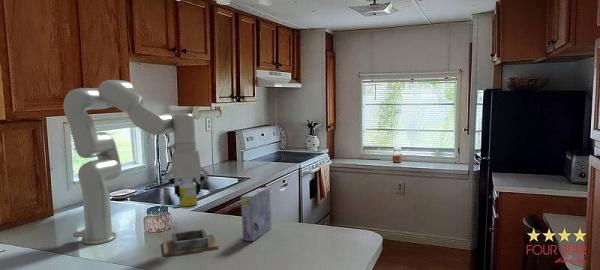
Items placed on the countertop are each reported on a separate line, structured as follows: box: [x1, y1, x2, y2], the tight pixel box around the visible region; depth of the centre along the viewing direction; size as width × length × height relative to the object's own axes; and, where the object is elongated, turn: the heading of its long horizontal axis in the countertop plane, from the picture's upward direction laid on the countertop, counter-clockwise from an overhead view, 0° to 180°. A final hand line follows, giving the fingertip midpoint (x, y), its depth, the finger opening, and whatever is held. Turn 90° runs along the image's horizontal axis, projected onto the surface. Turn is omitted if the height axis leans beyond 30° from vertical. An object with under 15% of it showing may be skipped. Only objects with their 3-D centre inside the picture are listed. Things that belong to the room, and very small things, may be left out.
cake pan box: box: [240, 186, 272, 243], centre depth 172 cm, size 19×5×18 cm, turn 160°
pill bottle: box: [178, 178, 198, 210], centre depth 159 cm, size 6×6×12 cm
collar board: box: [162, 228, 219, 257], centre depth 161 cm, size 19×14×4 cm
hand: (187, 194), depth 159 cm, fingers closed on pill bottle, 6 cm apart
